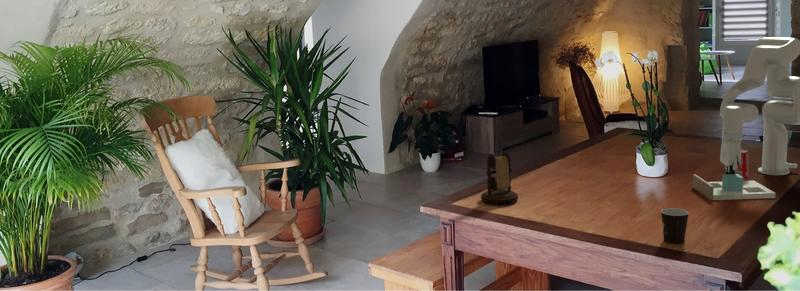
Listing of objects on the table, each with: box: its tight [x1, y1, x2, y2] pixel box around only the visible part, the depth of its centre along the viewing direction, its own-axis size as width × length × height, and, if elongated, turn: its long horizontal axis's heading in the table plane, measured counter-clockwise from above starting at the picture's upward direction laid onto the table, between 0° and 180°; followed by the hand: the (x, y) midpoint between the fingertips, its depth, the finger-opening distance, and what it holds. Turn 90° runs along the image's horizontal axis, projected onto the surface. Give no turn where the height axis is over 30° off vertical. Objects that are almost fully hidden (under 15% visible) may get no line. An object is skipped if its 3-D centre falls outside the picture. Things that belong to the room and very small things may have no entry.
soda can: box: [735, 148, 750, 181], centre depth 335 cm, size 7×7×13 cm
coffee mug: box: [660, 207, 690, 245], centre depth 262 cm, size 12×9×10 cm
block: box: [721, 173, 743, 191], centre depth 316 cm, size 6×6×6 cm
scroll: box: [480, 151, 519, 206], centre depth 318 cm, size 15×15×20 cm
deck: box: [692, 173, 777, 201], centre depth 319 cm, size 25×20×6 cm
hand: (730, 181), depth 321 cm, fingers closed
